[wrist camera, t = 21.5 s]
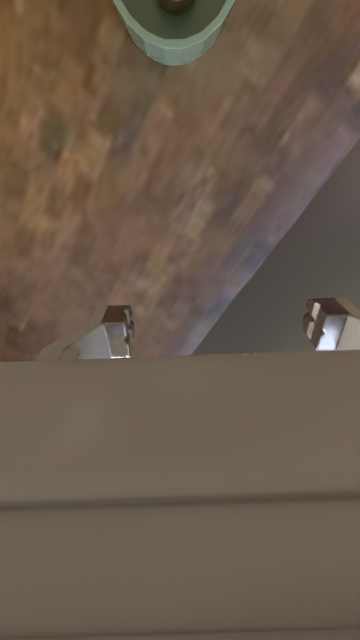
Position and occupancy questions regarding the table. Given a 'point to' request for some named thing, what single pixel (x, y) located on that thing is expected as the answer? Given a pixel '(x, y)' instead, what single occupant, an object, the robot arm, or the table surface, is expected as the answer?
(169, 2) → the sprinkles bottle
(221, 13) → the cup
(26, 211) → the table surface
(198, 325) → the table surface
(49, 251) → the table surface
